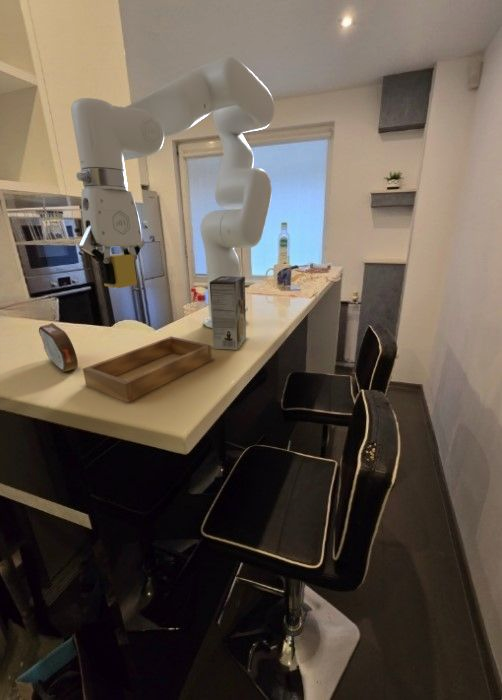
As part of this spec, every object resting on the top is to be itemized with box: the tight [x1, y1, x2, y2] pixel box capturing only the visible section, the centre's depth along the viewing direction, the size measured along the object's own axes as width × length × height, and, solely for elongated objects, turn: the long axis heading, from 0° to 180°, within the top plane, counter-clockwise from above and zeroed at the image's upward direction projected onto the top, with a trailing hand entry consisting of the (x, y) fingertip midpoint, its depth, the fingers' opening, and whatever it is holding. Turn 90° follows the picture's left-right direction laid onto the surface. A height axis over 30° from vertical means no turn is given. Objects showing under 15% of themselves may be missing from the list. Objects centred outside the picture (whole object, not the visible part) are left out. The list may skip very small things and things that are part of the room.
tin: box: [38, 322, 79, 373], centre depth 68 cm, size 15×3×8 cm, turn 44°
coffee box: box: [210, 276, 247, 351], centre depth 79 cm, size 9×6×16 cm
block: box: [103, 253, 138, 289], centre depth 66 cm, size 4×4×6 cm
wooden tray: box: [82, 335, 213, 404], centre depth 65 cm, size 22×12×4 cm, turn 147°
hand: (120, 280), depth 67 cm, fingers closed on block, 4 cm apart
